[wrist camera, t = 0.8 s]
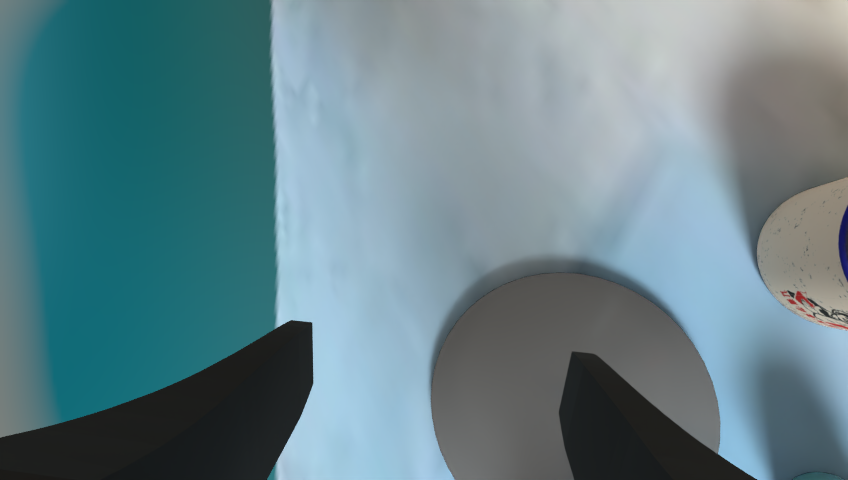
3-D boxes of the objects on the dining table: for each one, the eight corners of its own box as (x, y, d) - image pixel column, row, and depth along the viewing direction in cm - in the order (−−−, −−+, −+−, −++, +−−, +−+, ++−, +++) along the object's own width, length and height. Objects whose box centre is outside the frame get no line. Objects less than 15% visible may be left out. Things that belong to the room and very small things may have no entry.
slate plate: (698, 583, 26) (705, 595, 25) (419, 504, 31) (415, 511, 30) (727, 292, 27) (734, 293, 26) (450, 257, 32) (447, 257, 31)
